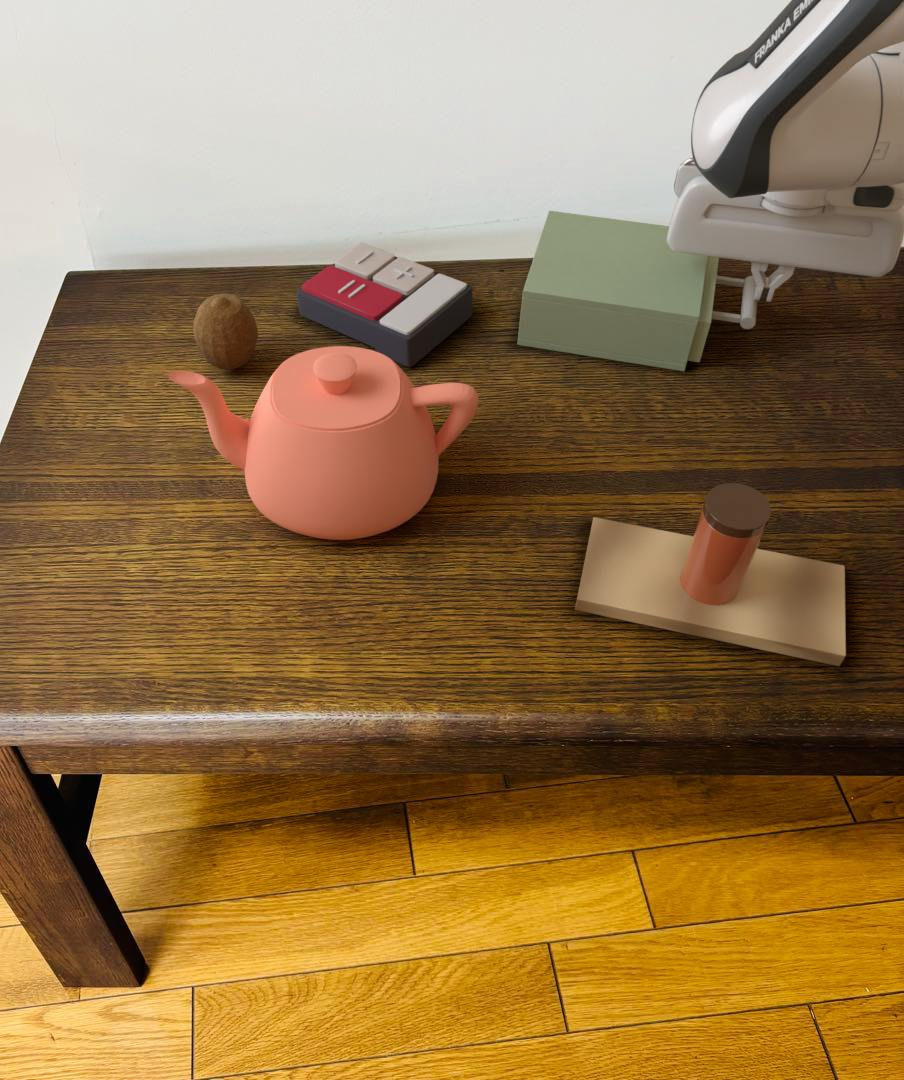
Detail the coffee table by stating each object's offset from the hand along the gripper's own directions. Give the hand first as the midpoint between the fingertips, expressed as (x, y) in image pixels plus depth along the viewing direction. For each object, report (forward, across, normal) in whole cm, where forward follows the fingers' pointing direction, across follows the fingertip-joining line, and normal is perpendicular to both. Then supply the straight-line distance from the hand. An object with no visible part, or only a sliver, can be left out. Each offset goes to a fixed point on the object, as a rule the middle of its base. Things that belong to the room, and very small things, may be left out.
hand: (761, 297), depth 98 cm
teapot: (+5, -35, -31) cm, 46 cm away
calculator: (+4, -37, -6) cm, 38 cm away
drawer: (+4, -10, 0) cm, 11 cm away
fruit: (+4, -50, -18) cm, 53 cm away
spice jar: (+4, -2, -35) cm, 35 cm away
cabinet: (+4, -14, 0) cm, 15 cm away
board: (+5, -2, -34) cm, 35 cm away
